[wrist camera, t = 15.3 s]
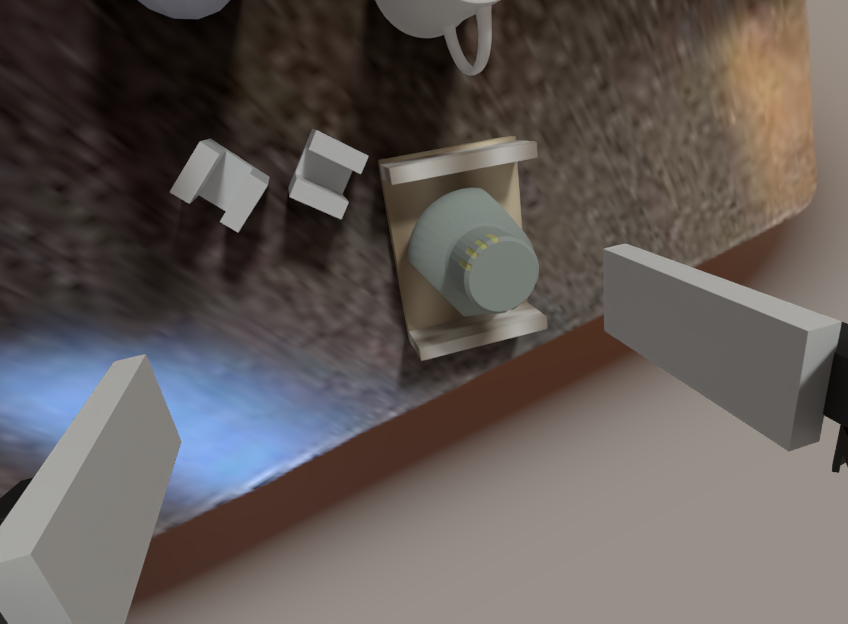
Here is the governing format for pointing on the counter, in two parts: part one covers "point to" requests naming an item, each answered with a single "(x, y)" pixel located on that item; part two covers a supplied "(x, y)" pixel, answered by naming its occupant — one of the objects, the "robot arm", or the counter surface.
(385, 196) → the end holder
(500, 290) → the air freshener
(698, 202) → the counter surface
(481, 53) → the mug
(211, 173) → the clip
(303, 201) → the clip
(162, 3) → the white orange spray bottle
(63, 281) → the counter surface
